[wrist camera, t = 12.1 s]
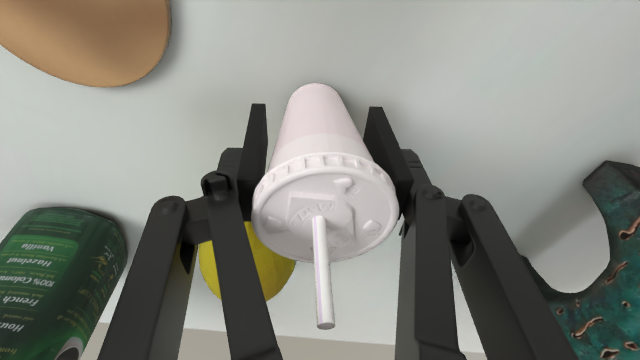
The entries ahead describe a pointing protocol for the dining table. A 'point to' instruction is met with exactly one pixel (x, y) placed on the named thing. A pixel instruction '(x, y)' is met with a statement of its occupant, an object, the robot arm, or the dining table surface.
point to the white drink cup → (322, 191)
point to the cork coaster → (87, 37)
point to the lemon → (268, 263)
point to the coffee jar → (56, 282)
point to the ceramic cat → (606, 274)
